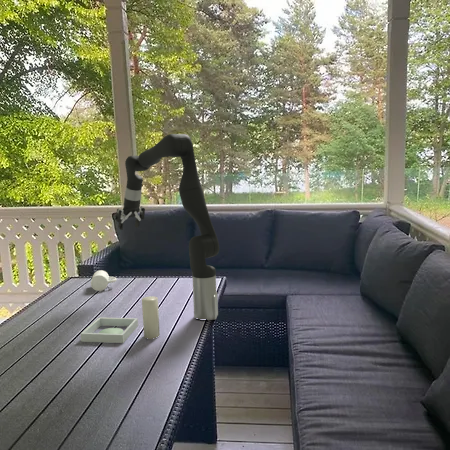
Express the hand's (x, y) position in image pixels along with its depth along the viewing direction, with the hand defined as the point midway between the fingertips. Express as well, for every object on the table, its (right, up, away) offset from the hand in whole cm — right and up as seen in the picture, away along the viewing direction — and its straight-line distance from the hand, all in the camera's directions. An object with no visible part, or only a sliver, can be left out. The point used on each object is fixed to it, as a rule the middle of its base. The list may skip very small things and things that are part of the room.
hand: (128, 228), depth 213 cm
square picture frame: (+4, -39, -50) cm, 63 cm away
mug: (-14, -30, +8) cm, 34 cm away
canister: (+20, -39, -53) cm, 69 cm away
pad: (+4, -39, -50) cm, 63 cm away
